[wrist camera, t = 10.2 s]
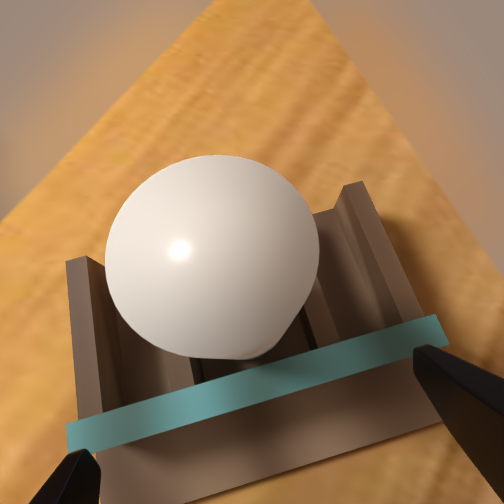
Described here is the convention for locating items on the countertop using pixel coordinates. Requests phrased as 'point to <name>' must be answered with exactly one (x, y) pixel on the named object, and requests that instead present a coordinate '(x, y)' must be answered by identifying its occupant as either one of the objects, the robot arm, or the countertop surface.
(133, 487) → the comb rack
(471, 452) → the robot arm
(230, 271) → the white cylinder
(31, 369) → the countertop surface
